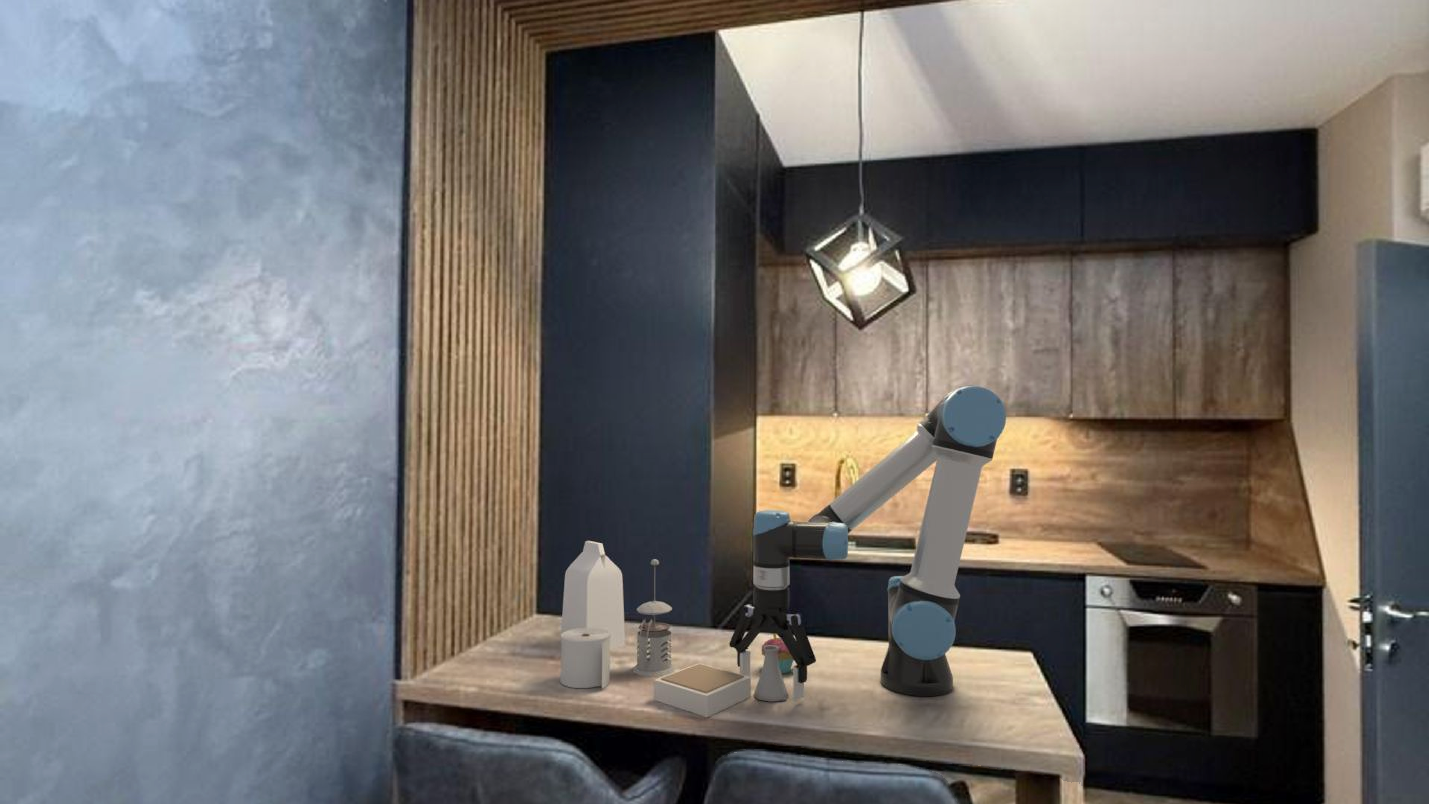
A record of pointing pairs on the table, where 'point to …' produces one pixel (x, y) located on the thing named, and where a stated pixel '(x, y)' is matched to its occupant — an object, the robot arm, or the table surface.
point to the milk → (594, 594)
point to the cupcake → (780, 654)
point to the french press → (653, 640)
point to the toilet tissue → (585, 658)
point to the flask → (771, 678)
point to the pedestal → (702, 689)
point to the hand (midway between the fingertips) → (771, 690)
